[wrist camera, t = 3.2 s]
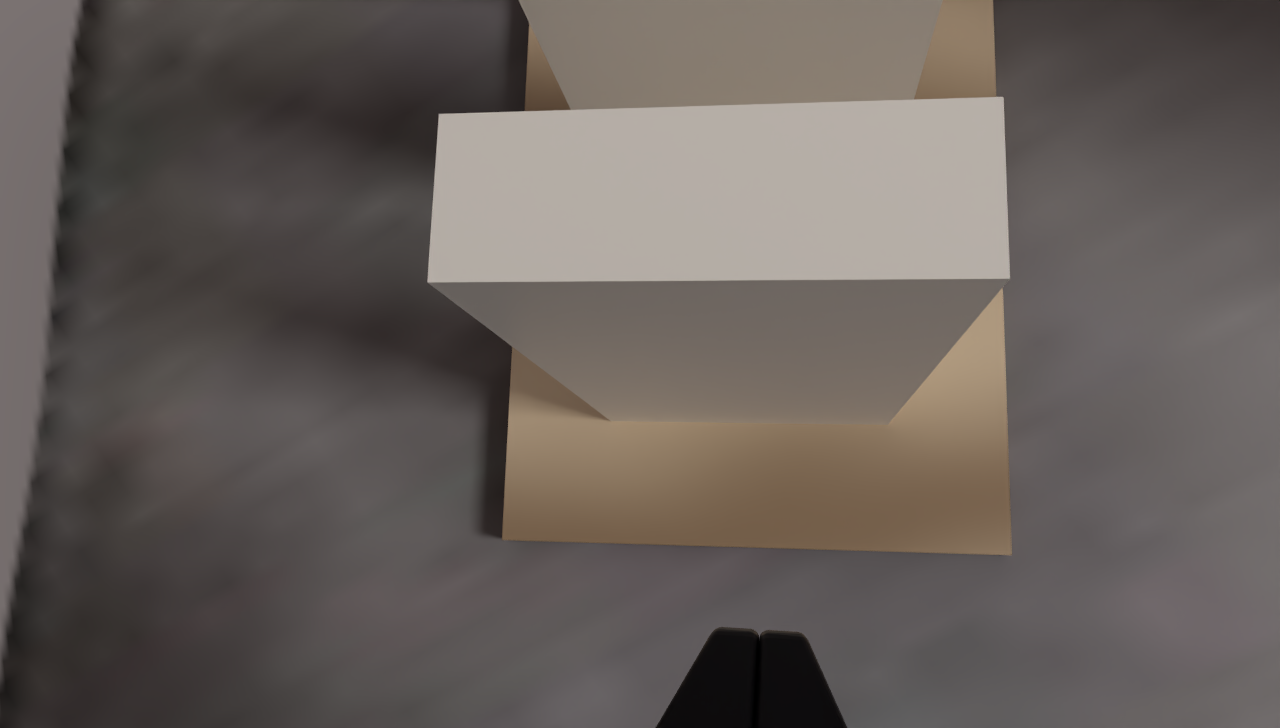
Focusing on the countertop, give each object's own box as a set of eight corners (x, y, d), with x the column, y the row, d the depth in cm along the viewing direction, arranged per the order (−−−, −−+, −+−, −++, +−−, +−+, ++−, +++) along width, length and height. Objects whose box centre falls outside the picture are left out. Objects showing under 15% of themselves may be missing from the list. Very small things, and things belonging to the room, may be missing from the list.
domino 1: (887, 424, 18) (1009, 277, 8) (610, 421, 19) (427, 282, 9) (886, 336, 18) (1003, 97, 9) (613, 336, 19) (439, 113, 9)
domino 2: (883, 202, 19) (992, -169, 9) (617, 206, 20) (453, -135, 10) (882, 121, 19) (986, -325, 9) (620, 128, 20) (464, -280, 10)
